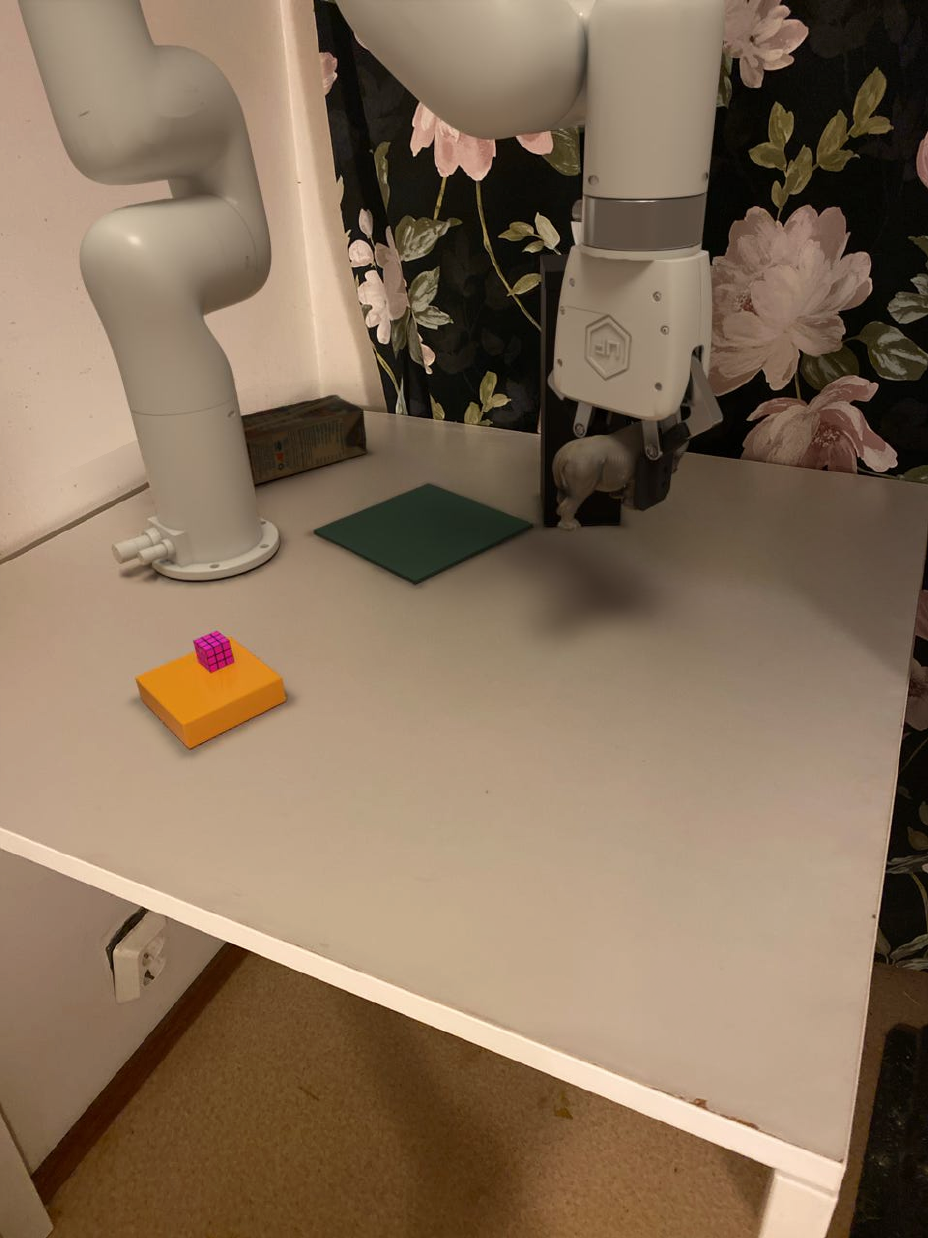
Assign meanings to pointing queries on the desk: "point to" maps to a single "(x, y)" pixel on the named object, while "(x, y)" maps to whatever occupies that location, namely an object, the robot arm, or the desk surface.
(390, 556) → the mat
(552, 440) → the tissue box
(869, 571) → the desk surface
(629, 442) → the rhino figurine
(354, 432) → the beverage carton
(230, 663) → the orange block
